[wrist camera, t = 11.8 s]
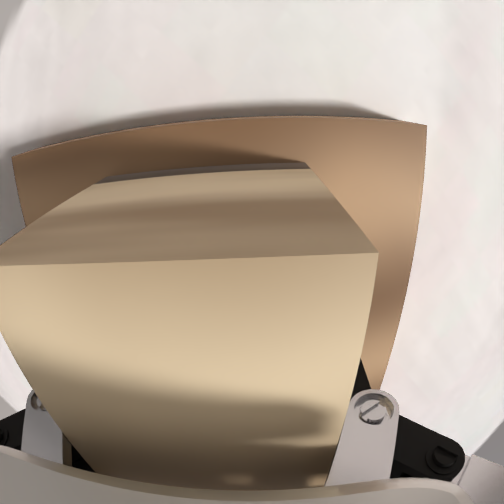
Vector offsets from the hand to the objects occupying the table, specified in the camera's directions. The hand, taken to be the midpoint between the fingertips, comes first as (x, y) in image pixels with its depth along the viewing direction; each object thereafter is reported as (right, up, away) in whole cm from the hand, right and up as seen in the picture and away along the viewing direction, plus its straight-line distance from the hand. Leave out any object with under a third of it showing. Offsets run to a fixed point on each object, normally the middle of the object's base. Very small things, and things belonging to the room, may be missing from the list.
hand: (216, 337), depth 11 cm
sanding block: (0, 0, +1) cm, 1 cm away
